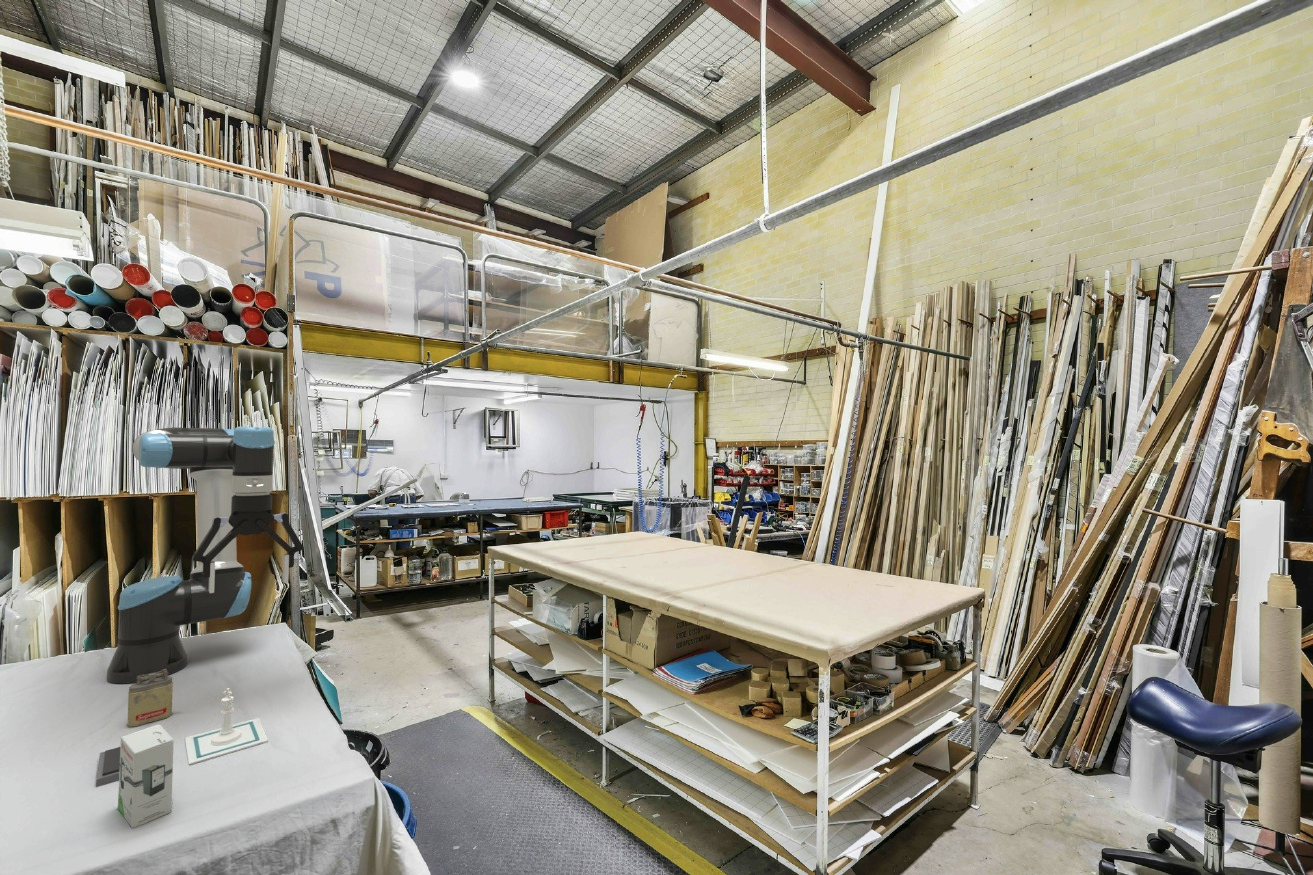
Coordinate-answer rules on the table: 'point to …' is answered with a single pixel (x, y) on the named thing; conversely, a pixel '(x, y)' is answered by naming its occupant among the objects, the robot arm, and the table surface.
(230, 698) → the chess piece
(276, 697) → the table surface
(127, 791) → the ink box
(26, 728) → the table surface
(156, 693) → the lighter
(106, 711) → the table surface
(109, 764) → the ink pad
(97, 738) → the table surface
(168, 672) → the robot arm
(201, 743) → the print card
